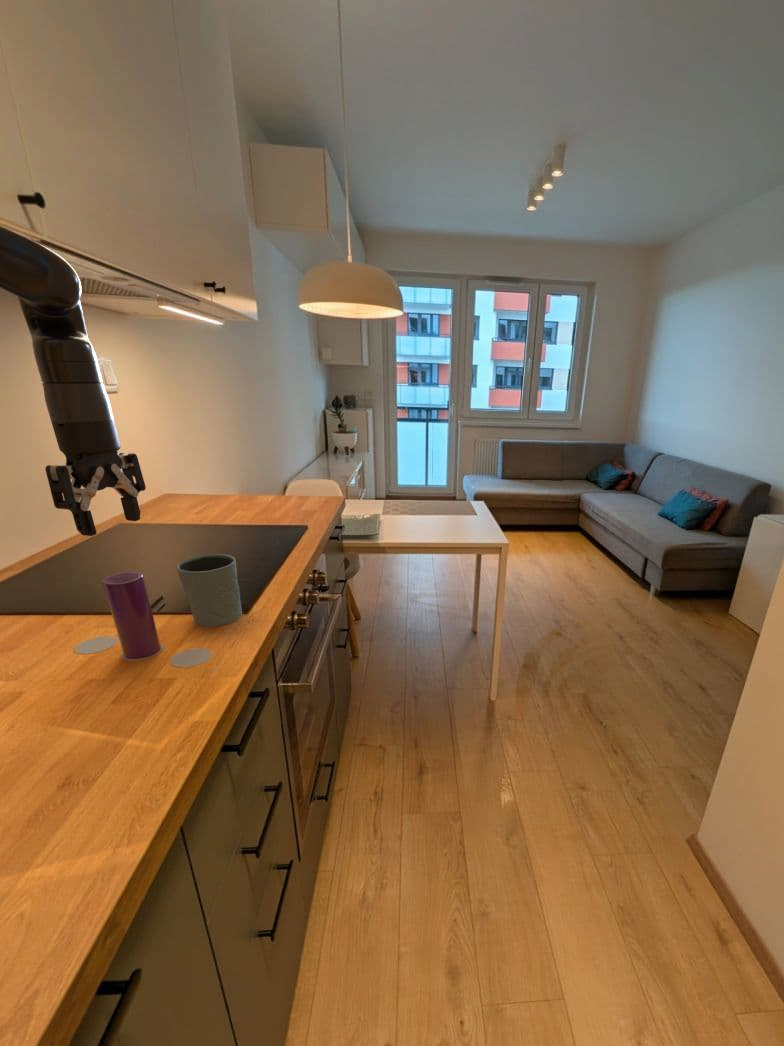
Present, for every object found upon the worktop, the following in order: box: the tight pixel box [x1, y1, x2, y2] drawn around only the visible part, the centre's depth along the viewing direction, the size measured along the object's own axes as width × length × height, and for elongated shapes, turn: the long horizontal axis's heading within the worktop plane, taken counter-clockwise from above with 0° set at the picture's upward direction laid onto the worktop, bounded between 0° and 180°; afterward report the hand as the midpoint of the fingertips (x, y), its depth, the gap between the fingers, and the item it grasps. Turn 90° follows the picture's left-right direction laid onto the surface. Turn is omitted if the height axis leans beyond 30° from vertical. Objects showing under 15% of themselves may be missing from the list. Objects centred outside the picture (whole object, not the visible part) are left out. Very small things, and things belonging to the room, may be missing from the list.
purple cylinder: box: [109, 600, 156, 635], centre depth 84 cm, size 6×6×4 cm
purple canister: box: [102, 571, 150, 610], centre depth 83 cm, size 6×6×4 cm
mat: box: [73, 635, 213, 669], centre depth 87 cm, size 26×12×1 cm, turn 78°
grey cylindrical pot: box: [176, 553, 243, 628], centre depth 97 cm, size 10×10×12 cm
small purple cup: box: [116, 624, 161, 659], centre depth 86 cm, size 6×6×4 cm
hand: (112, 527), depth 79 cm, fingers open, 8 cm apart
